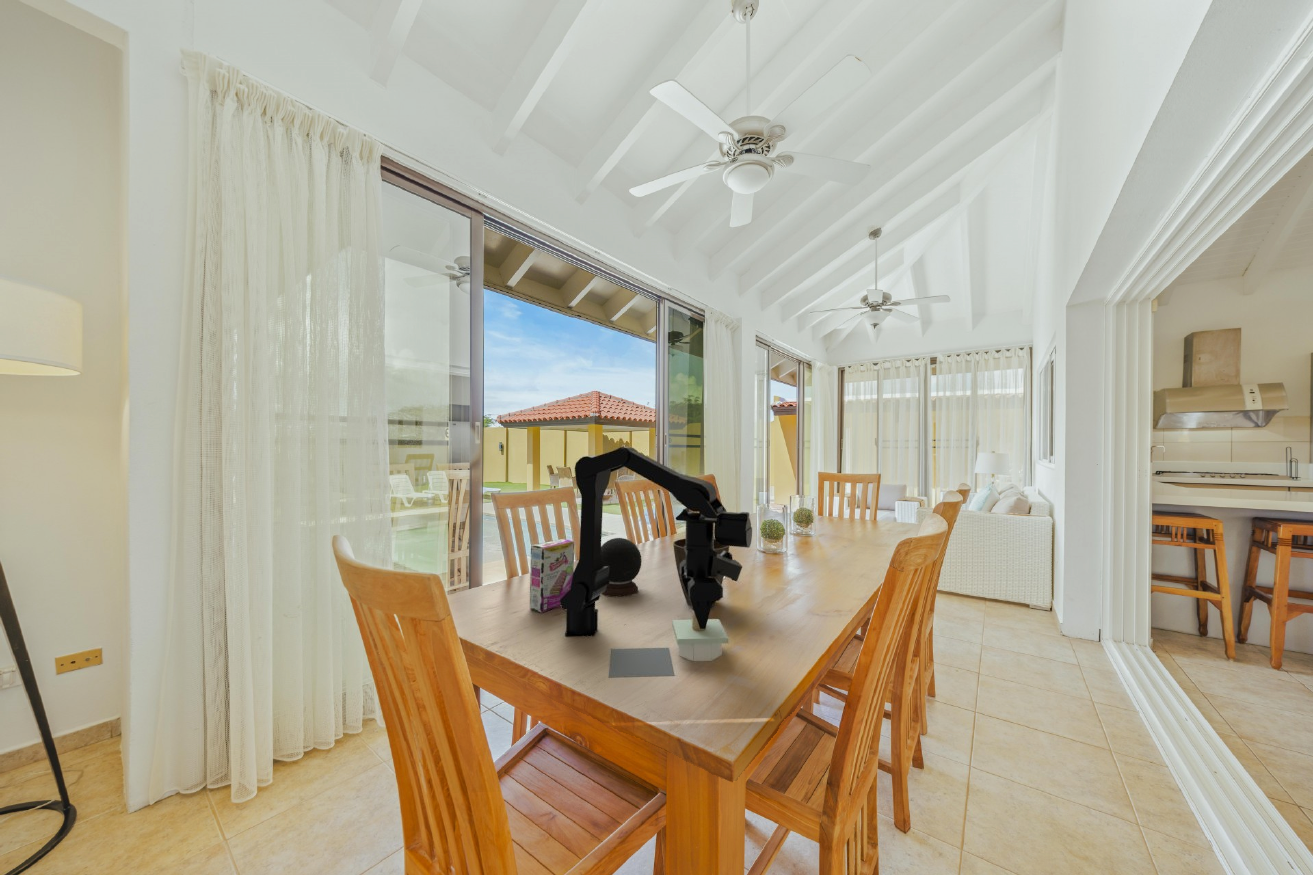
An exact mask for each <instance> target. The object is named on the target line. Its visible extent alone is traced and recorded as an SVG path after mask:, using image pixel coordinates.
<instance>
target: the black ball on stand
mask: <svg viewBox="0 0 1313 875" xmlns="http://www.w3.org/2000/svg"><path fill="white" fill-rule="evenodd" d="M601 561H602V563H603V565H604V566H609V568H610V570H609V576H608V577H609V582H610V584H608V585H607V588H606V590H605V591H604V592H603V593H602V594H601V595H602V596H606V597H614V598H624V597H630V596H632V595H633V596H634V595H635V594H637V593H638V591H639V587H638V585H637V584H636V583H635V582H634V581H633V580H635V578H636V577H637V576H638V574H639V572H641V571H640V570H641V568H642V563H643V562H642V554H641V552H640V550H639V547H638V546H637V545H636V544H635V543H634V542H633V541H631V540H629V539H627V538H624V537H623V538H622V537H615V538H610V539H609V540H607V541H606V542H604V543H602V544H601Z"/></svg>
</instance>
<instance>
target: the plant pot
mask: <svg viewBox="0 0 1313 875" xmlns="http://www.w3.org/2000/svg"><path fill="white" fill-rule="evenodd" d="M672 545H673V553H674V558H675V566H676V571H677V574H678V578H679V579H678V580H679V583H680V587H681V589H682V592H683V596H684V598H685V602H686V604H687V605H688V606H690V607H692V606H691V604H690V601H689V598H688V595H687V593H686V590H685V587H684V584H683V582H682V579H681V574H680V563H681V562H682V561H683V560H686V553H685V551H684V546H686V538H679V539H677V540H674V541H673V542H672ZM714 549H715V551H716V552H717V554H721V553H722V552H723V551H727V552H730V546H724V545H720V543H719V542H717V541H716V539H715V538H714ZM684 575H685V572H684ZM724 577H725V576H723V575H720V574H718V573H717V577H711V576H709V578H716V579H717V580H718V581H719V583H720V584H721V586H723V585H722V584H723V581H724ZM715 605H716V602H715V603H713V605H712V607H714V606H715Z"/></svg>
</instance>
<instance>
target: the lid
mask: <svg viewBox="0 0 1313 875" xmlns="http://www.w3.org/2000/svg"><path fill="white" fill-rule="evenodd" d="M691 612H692V613H691V614H692V617H691V618H692V619H671V620H672V623H671V624H672V628H673V632H674V636H675V640H676V645H677V644H716V643H722V644H729V642H730V641H729V640H730V639H729V638H730V637H729V636H728V634H727V632H726V629H725V628H724V626H723V624H722V623H721V620H720V619H718V618H708V621H707V625H706V628H705V629H700V627H699V624H698V622H697V619H696V616H695V613H694V610H693V609H692V611H691Z"/></svg>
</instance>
